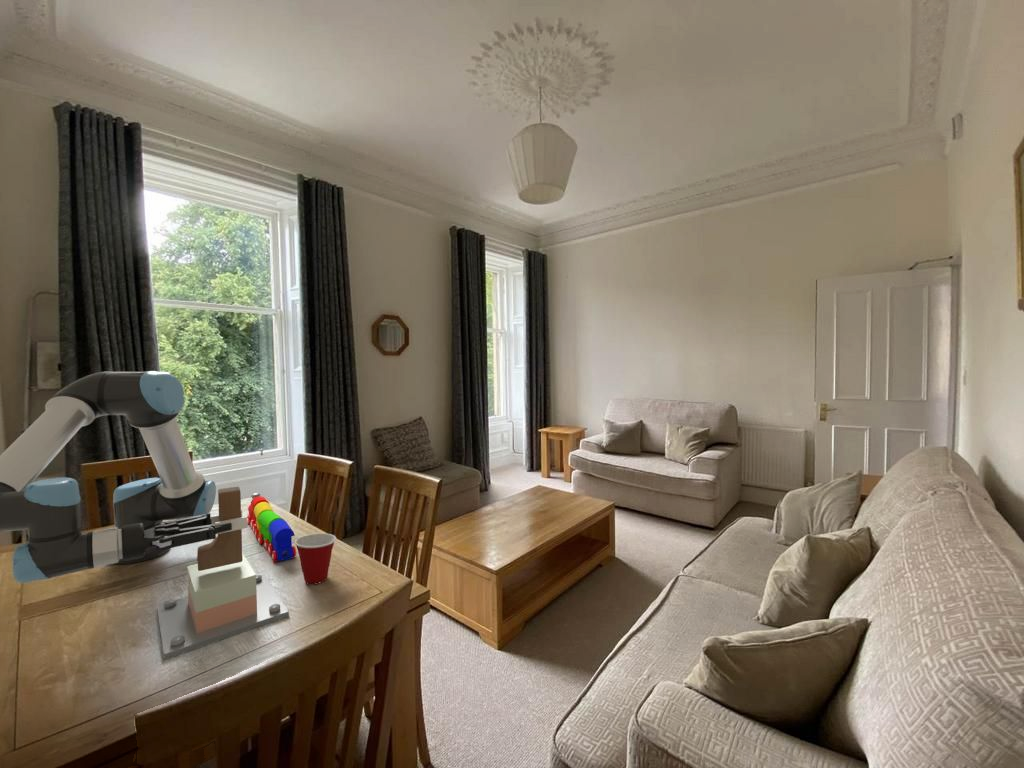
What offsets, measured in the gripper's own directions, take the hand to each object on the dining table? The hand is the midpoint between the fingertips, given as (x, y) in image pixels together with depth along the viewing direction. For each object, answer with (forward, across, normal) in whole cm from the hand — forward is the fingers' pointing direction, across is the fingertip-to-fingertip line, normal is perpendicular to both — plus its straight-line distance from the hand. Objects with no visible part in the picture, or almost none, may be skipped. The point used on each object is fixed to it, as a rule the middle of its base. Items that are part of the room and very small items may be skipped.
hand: (244, 518), depth 111 cm
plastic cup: (+18, -2, -23) cm, 29 cm away
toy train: (+14, -42, -23) cm, 50 cm away
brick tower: (-5, 0, -22) cm, 23 cm away
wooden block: (-5, 0, -10) cm, 11 cm away
